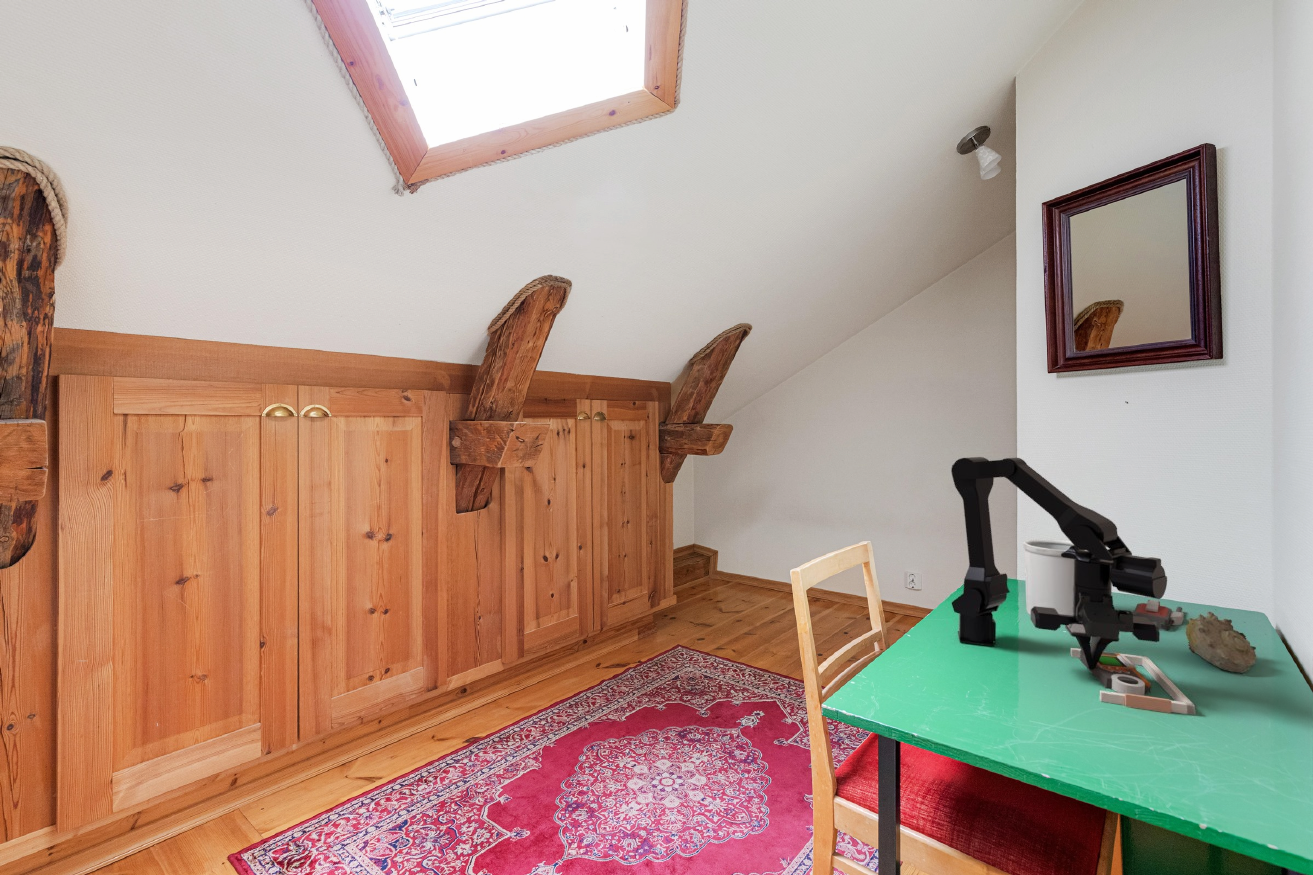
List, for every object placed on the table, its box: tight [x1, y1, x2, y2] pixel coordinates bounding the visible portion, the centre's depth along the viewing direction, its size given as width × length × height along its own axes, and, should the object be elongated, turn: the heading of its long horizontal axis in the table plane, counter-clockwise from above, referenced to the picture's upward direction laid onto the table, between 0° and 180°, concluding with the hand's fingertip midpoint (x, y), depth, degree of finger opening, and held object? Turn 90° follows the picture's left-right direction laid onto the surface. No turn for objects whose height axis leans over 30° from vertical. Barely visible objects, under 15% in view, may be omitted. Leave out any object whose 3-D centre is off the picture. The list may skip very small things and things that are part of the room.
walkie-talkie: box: [1132, 599, 1185, 631], centre depth 145 cm, size 9×4×20 cm
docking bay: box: [1070, 647, 1196, 716], centre depth 110 cm, size 12×23×2 cm, turn 157°
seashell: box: [1185, 611, 1257, 674], centre depth 119 cm, size 11×14×10 cm
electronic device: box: [1079, 651, 1152, 696], centre depth 112 cm, size 7×3×15 cm
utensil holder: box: [1023, 538, 1087, 616], centre depth 147 cm, size 15×15×18 cm
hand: (1090, 668), depth 112 cm, fingers closed
